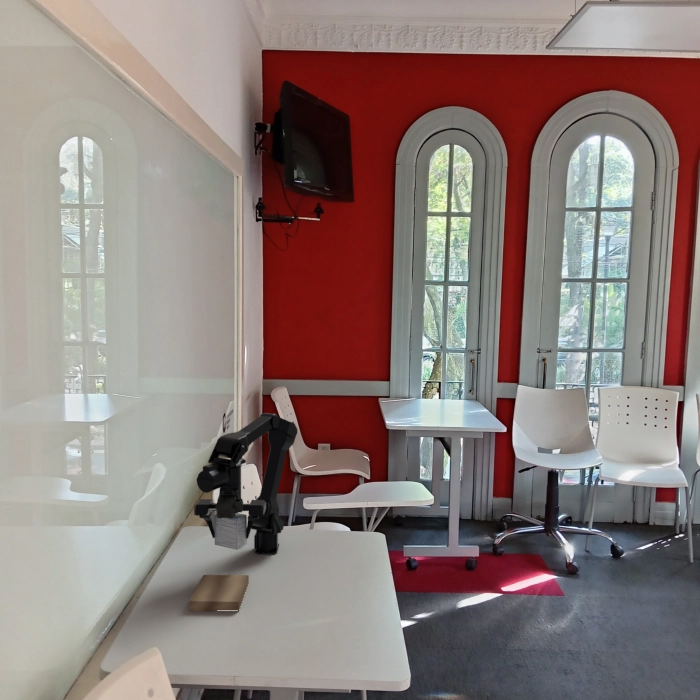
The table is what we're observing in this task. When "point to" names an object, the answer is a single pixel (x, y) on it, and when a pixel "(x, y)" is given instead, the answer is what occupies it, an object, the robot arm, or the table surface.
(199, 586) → the flat brown cardboard box
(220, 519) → the medicine box
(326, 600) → the table surface
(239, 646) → the table surface
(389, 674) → the table surface
